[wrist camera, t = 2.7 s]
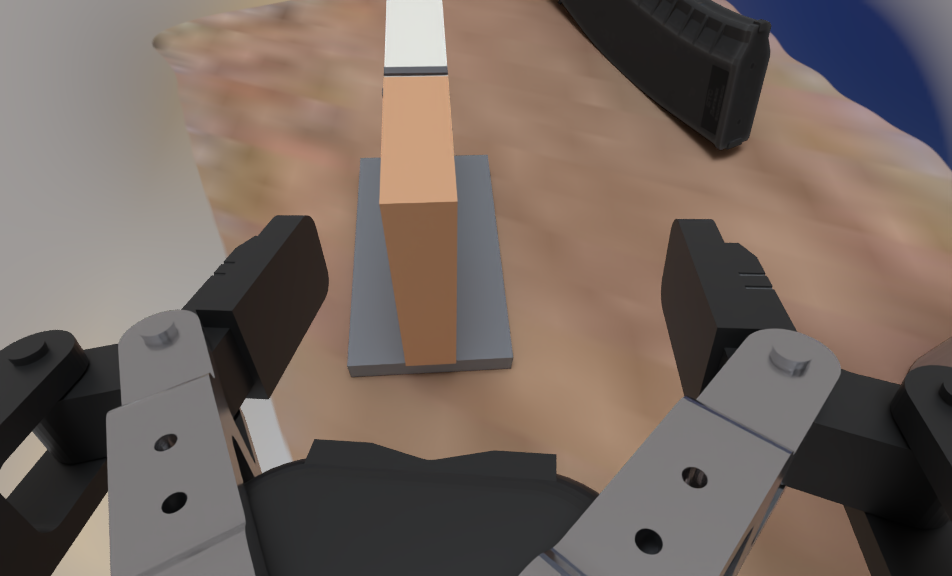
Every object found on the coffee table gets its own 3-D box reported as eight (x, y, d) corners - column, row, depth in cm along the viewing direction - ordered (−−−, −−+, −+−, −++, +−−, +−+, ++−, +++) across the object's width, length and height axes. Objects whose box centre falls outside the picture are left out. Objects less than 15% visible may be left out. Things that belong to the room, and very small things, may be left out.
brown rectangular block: (449, 257, 37) (447, 76, 25) (456, 363, 33) (457, 201, 21) (405, 259, 37) (383, 76, 25) (405, 366, 32) (379, 203, 21)
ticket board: (486, 168, 44) (500, -32, 31) (510, 368, 34) (545, 193, 21) (363, 172, 44) (325, -32, 31) (351, 376, 34) (287, 201, 21)
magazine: (822, 75, 38) (619, -210, 45) (788, 86, 37) (586, -206, 44) (692, 193, 54) (557, -31, 61) (666, 203, 53) (532, -25, 60)
